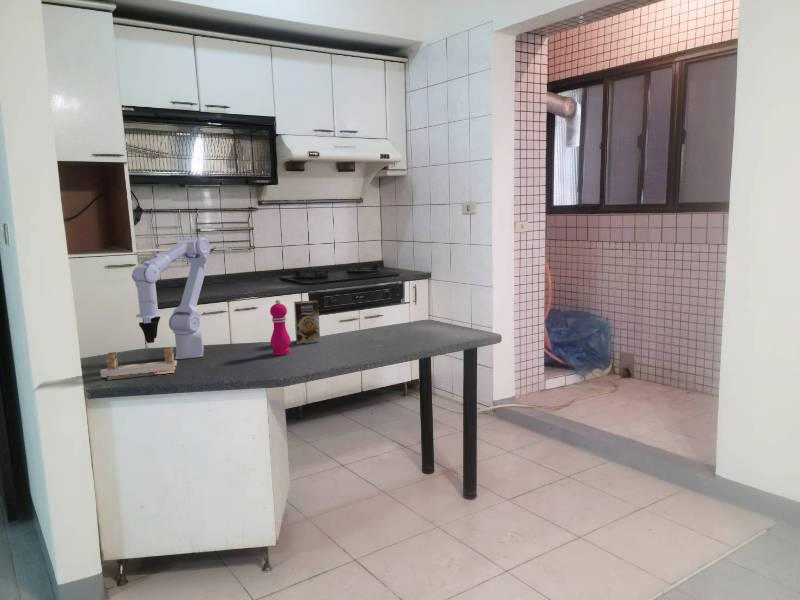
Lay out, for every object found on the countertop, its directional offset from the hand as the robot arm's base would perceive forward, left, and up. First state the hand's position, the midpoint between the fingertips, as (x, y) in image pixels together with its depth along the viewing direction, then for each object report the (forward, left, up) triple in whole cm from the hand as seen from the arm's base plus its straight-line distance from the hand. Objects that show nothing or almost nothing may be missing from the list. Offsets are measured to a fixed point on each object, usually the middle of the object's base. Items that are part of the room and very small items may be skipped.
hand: (151, 340), depth 200 cm
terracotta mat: (+3, +8, -9) cm, 13 cm away
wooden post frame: (+4, 0, -9) cm, 10 cm away
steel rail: (+4, +8, -9) cm, 13 cm away
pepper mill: (-43, -1, -10) cm, 44 cm away
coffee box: (-55, -17, -10) cm, 58 cm away
